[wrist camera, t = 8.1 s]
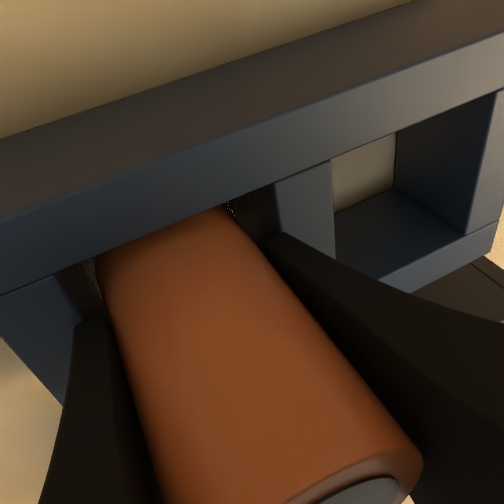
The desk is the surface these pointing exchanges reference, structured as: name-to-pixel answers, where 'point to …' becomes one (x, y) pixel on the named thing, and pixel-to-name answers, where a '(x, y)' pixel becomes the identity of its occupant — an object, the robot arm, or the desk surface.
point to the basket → (470, 290)
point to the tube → (243, 377)
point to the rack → (266, 164)
